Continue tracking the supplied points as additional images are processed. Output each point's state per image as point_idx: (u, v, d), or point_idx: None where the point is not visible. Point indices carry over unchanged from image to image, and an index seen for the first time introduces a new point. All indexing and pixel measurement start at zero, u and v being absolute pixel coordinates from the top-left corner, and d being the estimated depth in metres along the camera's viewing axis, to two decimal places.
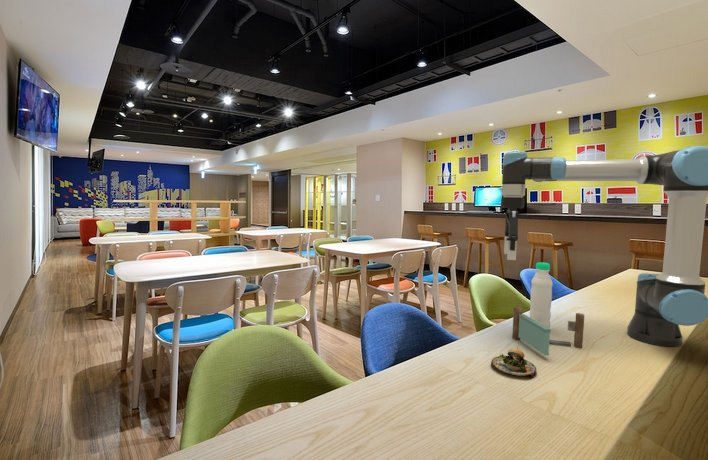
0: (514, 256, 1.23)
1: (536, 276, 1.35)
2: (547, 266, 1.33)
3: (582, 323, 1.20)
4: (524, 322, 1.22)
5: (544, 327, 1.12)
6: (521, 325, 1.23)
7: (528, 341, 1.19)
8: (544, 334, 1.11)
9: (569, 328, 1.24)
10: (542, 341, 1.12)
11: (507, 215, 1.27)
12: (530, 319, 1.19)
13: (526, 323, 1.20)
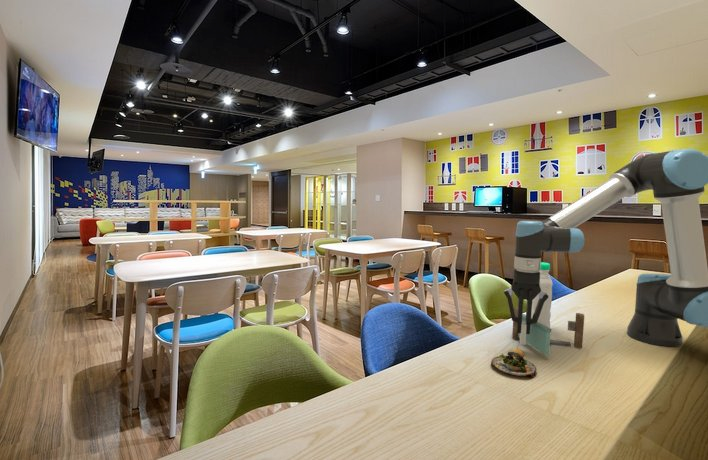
0: None
1: None
2: (547, 266, 1.33)
3: (582, 323, 1.20)
4: None
5: (545, 327, 1.12)
6: None
7: (528, 341, 1.19)
8: (545, 334, 1.11)
9: (569, 328, 1.24)
10: (543, 341, 1.12)
11: (532, 294, 1.13)
12: None
13: None
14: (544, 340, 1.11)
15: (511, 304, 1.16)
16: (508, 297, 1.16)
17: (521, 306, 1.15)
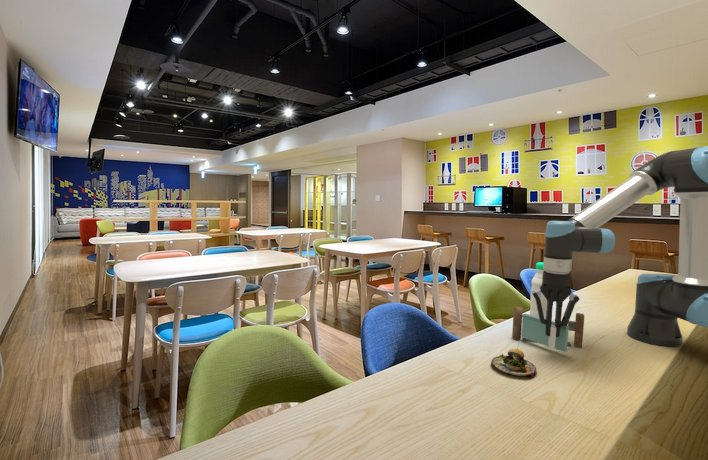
0: None
1: (536, 276, 1.35)
2: None
3: (582, 323, 1.20)
4: (531, 322, 1.22)
5: None
6: (526, 325, 1.24)
7: (538, 340, 1.20)
8: (564, 331, 1.13)
9: (569, 328, 1.24)
10: (561, 338, 1.14)
11: (563, 296, 1.10)
12: None
13: (534, 322, 1.21)
14: (563, 337, 1.14)
15: (540, 306, 1.13)
16: (537, 299, 1.13)
17: (551, 308, 1.12)
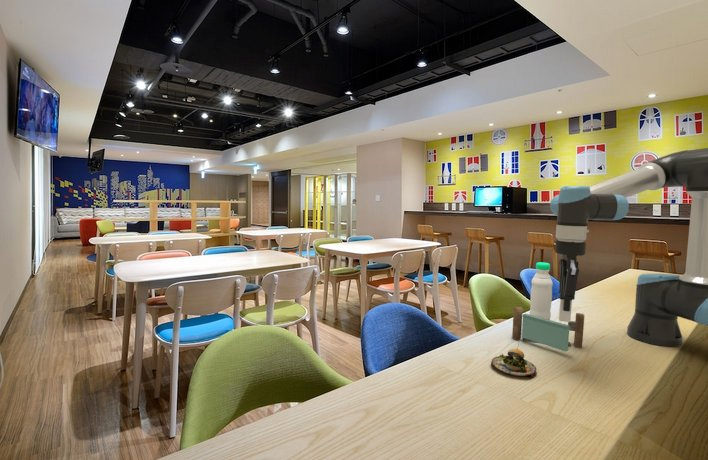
0: None
1: (536, 276, 1.35)
2: (547, 266, 1.33)
3: (582, 323, 1.20)
4: (531, 321, 1.22)
5: (562, 324, 1.15)
6: (526, 325, 1.24)
7: (539, 340, 1.20)
8: (565, 331, 1.14)
9: None
10: (562, 338, 1.14)
11: None
12: (539, 318, 1.21)
13: (535, 322, 1.21)
14: (564, 337, 1.14)
15: None
16: None
17: None
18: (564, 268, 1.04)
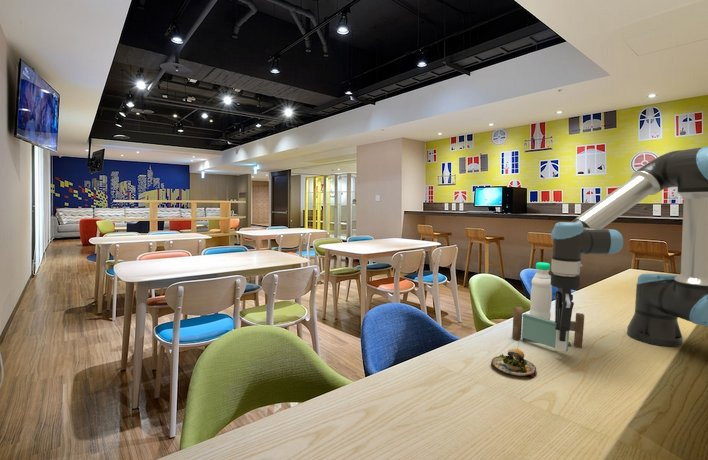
0: None
1: (536, 276, 1.35)
2: (547, 266, 1.33)
3: (582, 323, 1.20)
4: (531, 321, 1.22)
5: None
6: (526, 325, 1.24)
7: (539, 340, 1.20)
8: None
9: None
10: None
11: None
12: (539, 318, 1.21)
13: (535, 322, 1.21)
14: None
15: None
16: None
17: None
18: (559, 300, 1.09)
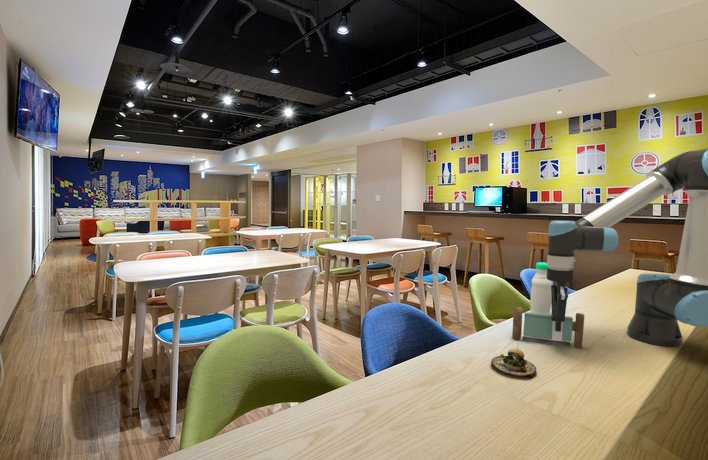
0: None
1: (536, 276, 1.35)
2: (547, 266, 1.33)
3: (582, 323, 1.20)
4: (534, 319, 1.25)
5: (566, 317, 1.22)
6: (529, 324, 1.25)
7: (543, 336, 1.24)
8: (570, 323, 1.21)
9: None
10: (567, 330, 1.22)
11: None
12: (542, 314, 1.24)
13: (538, 319, 1.24)
14: (570, 328, 1.21)
15: None
16: None
17: None
18: (555, 293, 1.17)
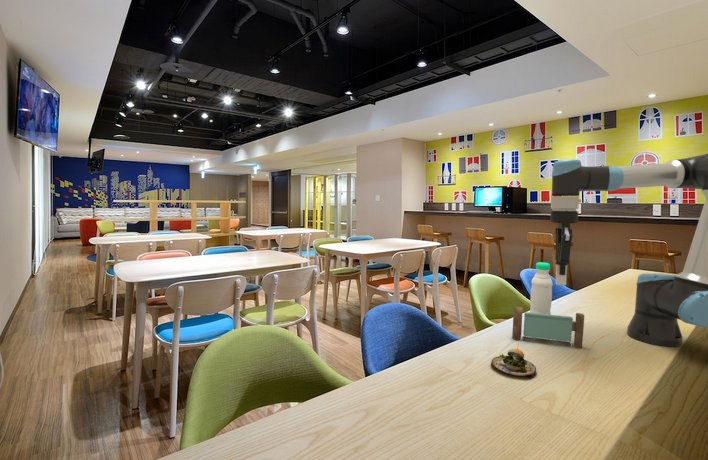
0: None
1: (536, 276, 1.35)
2: (547, 266, 1.33)
3: (582, 323, 1.20)
4: (534, 319, 1.25)
5: (566, 317, 1.22)
6: (529, 324, 1.25)
7: (543, 335, 1.24)
8: (570, 323, 1.21)
9: None
10: (567, 330, 1.22)
11: None
12: (542, 314, 1.24)
13: (538, 319, 1.24)
14: (570, 328, 1.21)
15: None
16: None
17: None
18: (559, 235, 1.14)
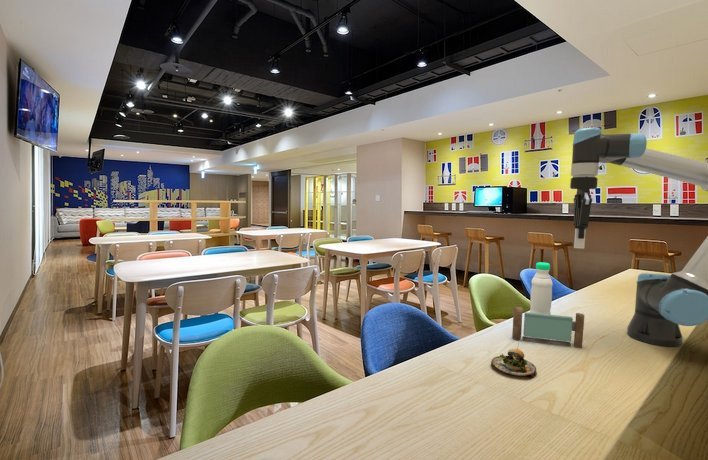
0: None
1: (536, 276, 1.35)
2: (547, 266, 1.33)
3: (582, 323, 1.20)
4: (534, 319, 1.25)
5: (566, 317, 1.22)
6: (529, 324, 1.25)
7: (543, 335, 1.24)
8: (570, 323, 1.21)
9: None
10: (567, 330, 1.22)
11: None
12: (542, 314, 1.24)
13: (538, 319, 1.24)
14: (570, 328, 1.21)
15: None
16: None
17: None
18: (579, 201, 1.20)
